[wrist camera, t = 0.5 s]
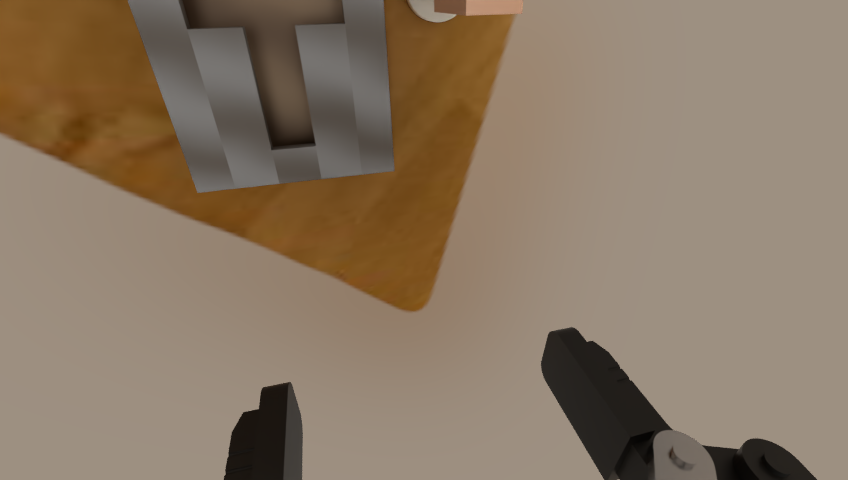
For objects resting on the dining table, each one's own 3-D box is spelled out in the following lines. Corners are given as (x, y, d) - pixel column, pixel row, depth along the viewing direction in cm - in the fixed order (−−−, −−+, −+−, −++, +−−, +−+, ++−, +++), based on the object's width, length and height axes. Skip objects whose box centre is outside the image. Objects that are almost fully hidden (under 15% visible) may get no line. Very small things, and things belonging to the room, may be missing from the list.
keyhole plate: (92, -192, 20) (42, -236, 16) (360, -176, 23) (370, -210, 19) (211, 168, 31) (197, 192, 27) (385, 151, 34) (394, 170, 30)
